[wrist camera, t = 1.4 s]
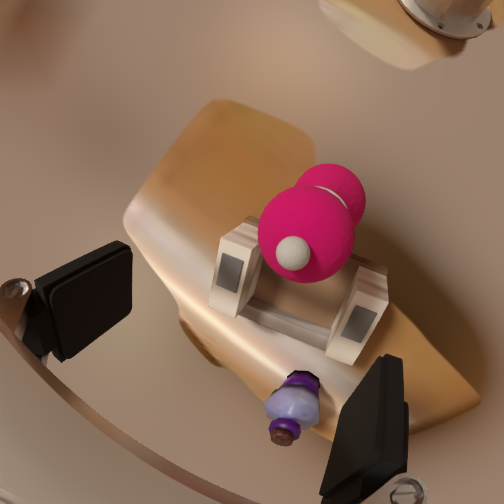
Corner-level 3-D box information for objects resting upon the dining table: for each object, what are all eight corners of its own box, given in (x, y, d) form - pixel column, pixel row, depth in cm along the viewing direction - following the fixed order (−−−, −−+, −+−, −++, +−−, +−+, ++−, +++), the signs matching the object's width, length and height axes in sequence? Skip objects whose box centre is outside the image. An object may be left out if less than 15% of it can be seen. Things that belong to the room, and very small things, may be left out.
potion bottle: (267, 369, 45) (237, 424, 34) (315, 356, 40) (292, 418, 30) (293, 403, 46) (270, 457, 35) (338, 393, 41) (322, 454, 31)
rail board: (249, 215, 36) (220, 234, 30) (387, 267, 32) (390, 299, 25) (231, 294, 42) (204, 322, 35) (349, 342, 37) (342, 380, 31)
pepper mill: (376, 208, 30) (385, 294, 13) (321, 234, 34) (265, 336, 17) (345, 149, 29) (316, 156, 12) (291, 179, 33) (198, 227, 16)
